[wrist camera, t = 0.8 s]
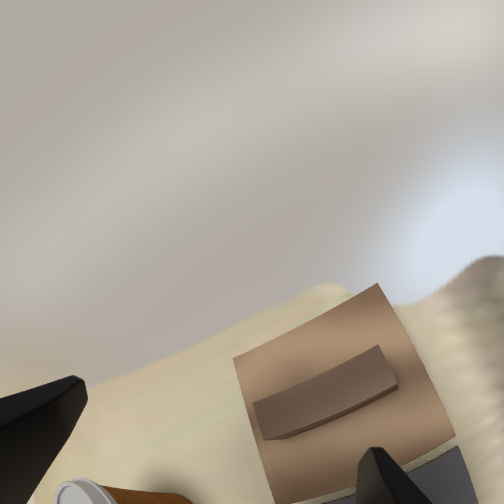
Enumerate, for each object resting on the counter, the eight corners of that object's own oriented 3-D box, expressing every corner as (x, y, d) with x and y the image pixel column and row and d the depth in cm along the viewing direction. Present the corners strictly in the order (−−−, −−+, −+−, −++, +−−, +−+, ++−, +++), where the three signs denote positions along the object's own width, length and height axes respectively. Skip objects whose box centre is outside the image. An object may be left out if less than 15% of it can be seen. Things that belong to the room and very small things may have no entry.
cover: (453, 434, 12) (464, 438, 9) (282, 503, 15) (254, 516, 12) (378, 288, 20) (371, 261, 17) (239, 361, 23) (209, 348, 20)
